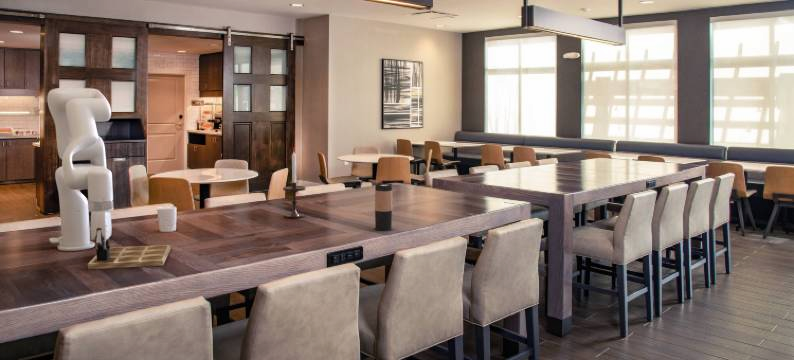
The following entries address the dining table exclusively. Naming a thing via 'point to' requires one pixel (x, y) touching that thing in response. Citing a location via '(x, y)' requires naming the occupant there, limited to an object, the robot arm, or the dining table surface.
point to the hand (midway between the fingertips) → (103, 258)
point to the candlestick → (294, 189)
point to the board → (133, 257)
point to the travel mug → (383, 207)
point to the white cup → (167, 218)
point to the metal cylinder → (108, 253)
